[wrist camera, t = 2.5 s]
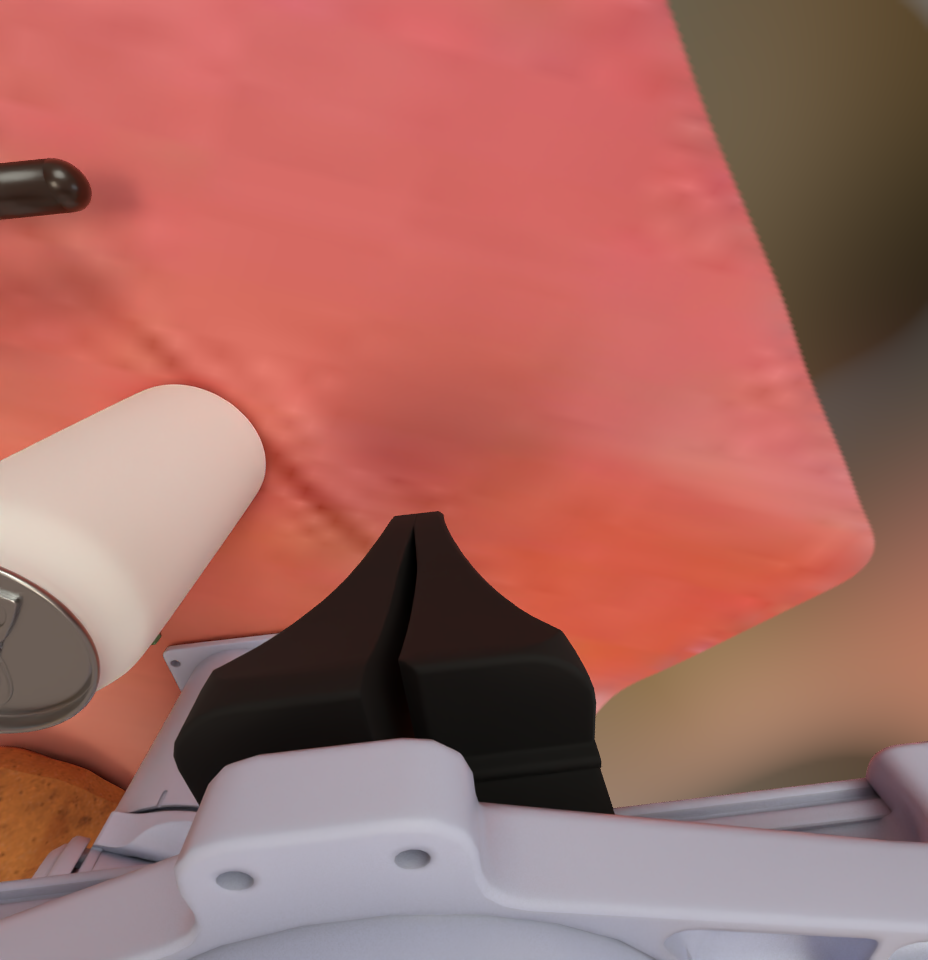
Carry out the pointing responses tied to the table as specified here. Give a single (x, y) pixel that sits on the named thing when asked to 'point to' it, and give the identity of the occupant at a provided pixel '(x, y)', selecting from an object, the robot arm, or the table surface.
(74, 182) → the pan handle
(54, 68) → the table surface
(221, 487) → the can
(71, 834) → the potato
